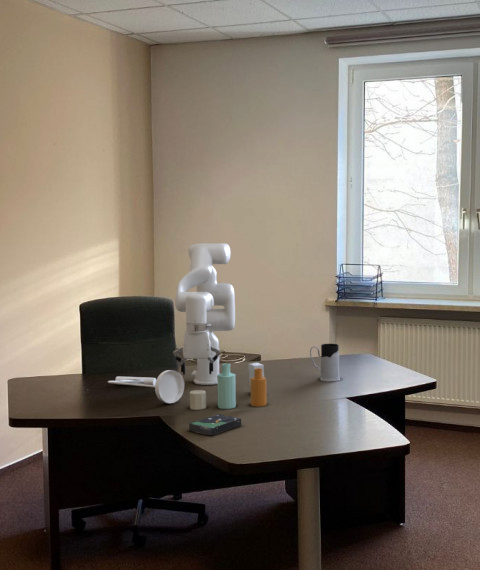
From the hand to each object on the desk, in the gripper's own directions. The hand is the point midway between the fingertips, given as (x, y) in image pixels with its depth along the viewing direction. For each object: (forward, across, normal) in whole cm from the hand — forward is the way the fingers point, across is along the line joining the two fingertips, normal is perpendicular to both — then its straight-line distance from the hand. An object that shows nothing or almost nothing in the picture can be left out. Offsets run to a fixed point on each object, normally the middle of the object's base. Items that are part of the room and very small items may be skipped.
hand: (197, 373), depth 272 cm
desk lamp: (+12, +22, -28) cm, 37 cm away
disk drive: (+14, -7, +28) cm, 32 cm away
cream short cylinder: (+13, 0, -1) cm, 13 cm away
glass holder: (+12, -53, -45) cm, 70 cm away
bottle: (+13, -11, -1) cm, 17 cm away
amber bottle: (+13, -22, -2) cm, 26 cm away
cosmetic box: (+13, -22, -20) cm, 32 cm away
